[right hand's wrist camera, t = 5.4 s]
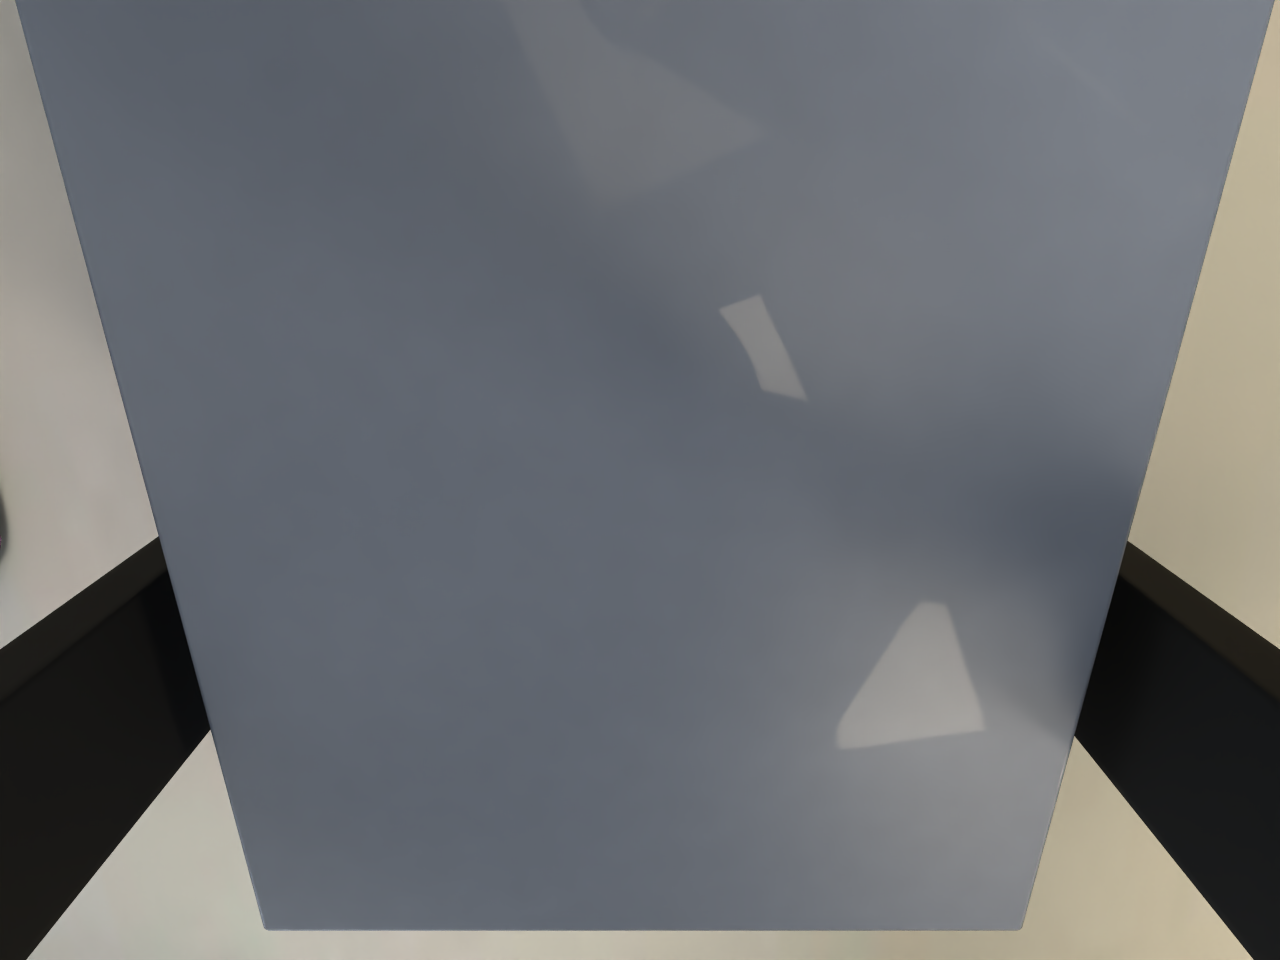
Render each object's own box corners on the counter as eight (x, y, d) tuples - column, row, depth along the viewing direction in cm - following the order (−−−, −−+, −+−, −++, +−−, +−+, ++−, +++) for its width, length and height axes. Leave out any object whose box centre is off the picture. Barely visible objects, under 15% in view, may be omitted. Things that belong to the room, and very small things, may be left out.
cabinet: (372, -128, 15) (-220, -853, 5) (911, -128, 15) (1514, -853, 5) (449, 570, 21) (262, 933, 11) (834, 570, 21) (1023, 933, 11)
